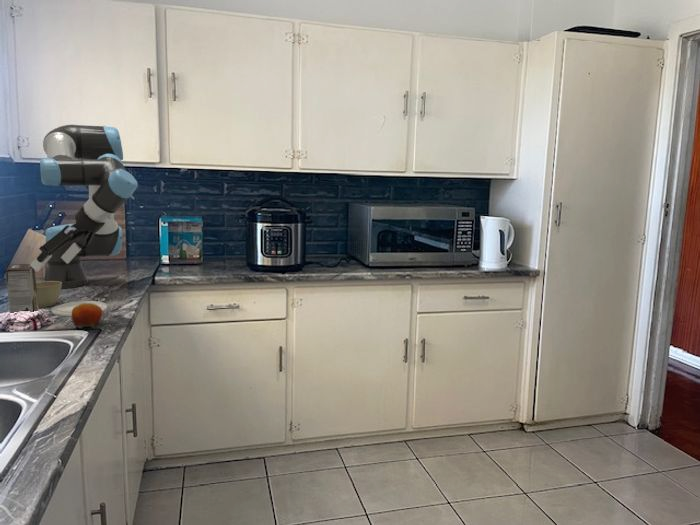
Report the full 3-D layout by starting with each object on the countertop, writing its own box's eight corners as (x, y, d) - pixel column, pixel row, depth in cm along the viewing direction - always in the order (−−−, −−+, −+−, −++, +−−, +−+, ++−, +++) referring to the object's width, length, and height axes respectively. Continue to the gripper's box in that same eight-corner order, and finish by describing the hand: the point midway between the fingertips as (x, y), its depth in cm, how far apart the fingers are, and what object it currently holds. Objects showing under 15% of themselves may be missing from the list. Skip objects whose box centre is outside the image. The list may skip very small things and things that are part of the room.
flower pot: (55, 299, 188) (54, 279, 187) (68, 304, 182) (67, 283, 181) (24, 305, 180) (22, 284, 179) (36, 310, 174) (34, 288, 173)
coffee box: (15, 315, 168) (11, 264, 165) (39, 313, 170) (35, 263, 168) (9, 323, 160) (4, 269, 157) (34, 321, 162) (30, 268, 159)
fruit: (70, 328, 151) (70, 300, 154) (73, 335, 158) (72, 309, 160) (102, 325, 154) (101, 298, 157) (103, 332, 161) (102, 306, 164)
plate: (72, 303, 184) (71, 299, 184) (116, 305, 182) (116, 301, 182) (40, 315, 169) (39, 310, 168) (88, 317, 167) (87, 313, 166)
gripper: (77, 228, 144) (29, 281, 148) (126, 220, 169) (84, 266, 173) (57, 207, 144) (9, 261, 148) (109, 202, 168) (67, 248, 173)
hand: (49, 264), depth 161 cm, fingers open, 13 cm apart
